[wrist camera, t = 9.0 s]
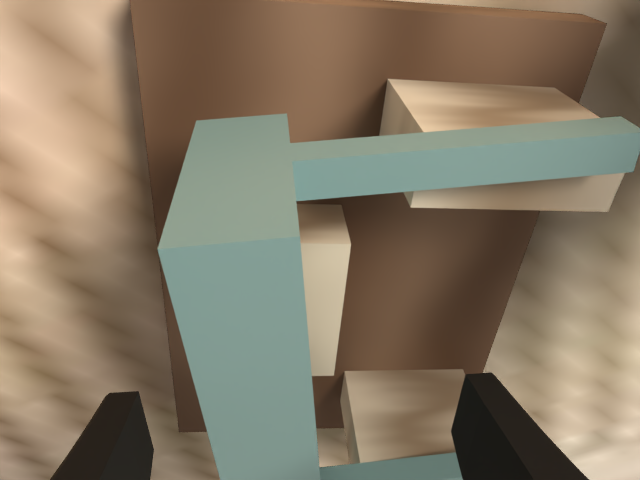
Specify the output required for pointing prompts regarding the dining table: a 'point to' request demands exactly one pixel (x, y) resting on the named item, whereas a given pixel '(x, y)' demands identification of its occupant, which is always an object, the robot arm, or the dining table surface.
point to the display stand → (379, 209)
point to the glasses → (287, 271)
